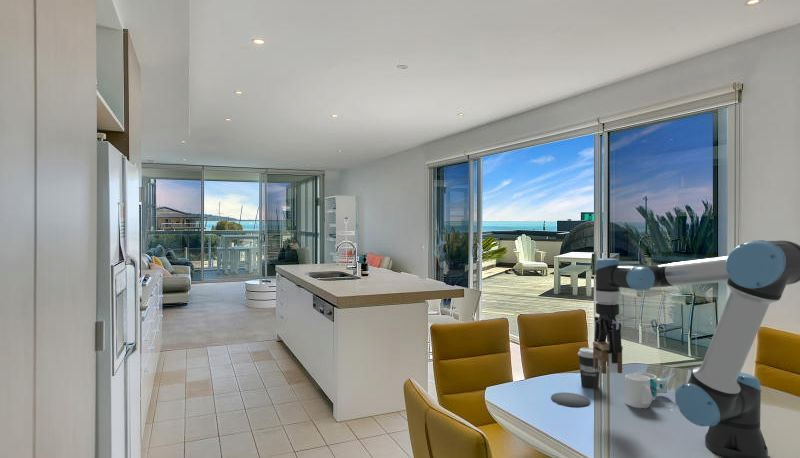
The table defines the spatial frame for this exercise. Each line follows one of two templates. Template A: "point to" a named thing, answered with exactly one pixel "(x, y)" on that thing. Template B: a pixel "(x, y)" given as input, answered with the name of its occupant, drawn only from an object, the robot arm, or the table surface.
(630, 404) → the mug
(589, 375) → the coffee cup
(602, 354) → the stool
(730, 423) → the robot arm
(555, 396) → the mat
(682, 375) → the table surface
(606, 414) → the table surface
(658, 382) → the mug
